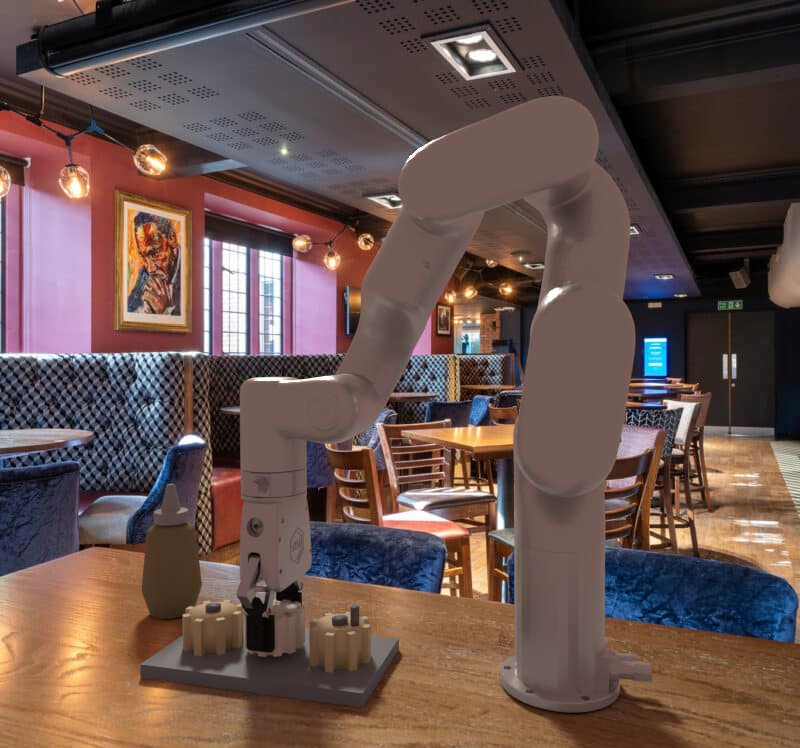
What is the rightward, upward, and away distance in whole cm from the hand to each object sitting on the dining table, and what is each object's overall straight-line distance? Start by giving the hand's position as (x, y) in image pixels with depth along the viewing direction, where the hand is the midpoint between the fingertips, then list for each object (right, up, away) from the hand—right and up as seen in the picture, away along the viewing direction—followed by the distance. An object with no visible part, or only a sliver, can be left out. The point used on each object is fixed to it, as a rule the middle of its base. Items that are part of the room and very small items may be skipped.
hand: (275, 635), depth 78 cm
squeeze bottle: (-18, -3, +16) cm, 24 cm away
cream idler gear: (0, -1, 0) cm, 1 cm away
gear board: (0, -3, 0) cm, 3 cm away
